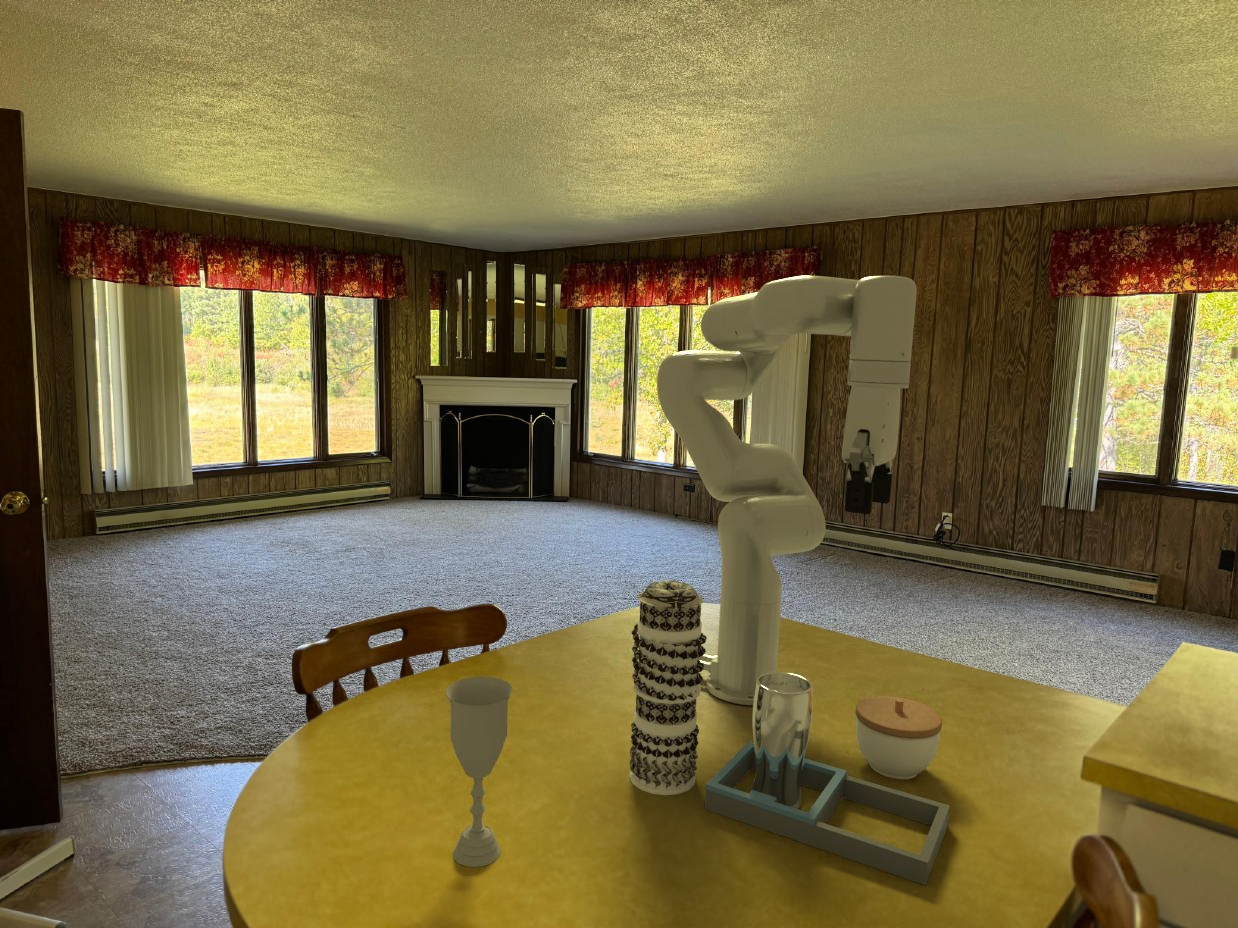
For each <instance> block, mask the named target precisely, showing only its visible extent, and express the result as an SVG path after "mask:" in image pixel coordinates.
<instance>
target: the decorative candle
mask: <svg viewBox="0 0 1238 928" xmlns="http://www.w3.org/2000/svg"><path fill="white" fill-rule="evenodd" d="M636 598H637V599H638V600H639V601H640V604H639V605H640V606H639V618H638V620H637V624H635V625H634V627H633V629H632V631H631V635H632V640H633V641H634V642H633V646H632V647H631V651H632V652H633V657H632V658H631V662H632V668H633V669H634V670H633V673H632V679H633V685H632V690H633V691H634V693H635V695H636V696H635V699H636V700H635V709H634V714H633V722H631V724H630V726H631V732H632V734H631V735H630V739H631V744H632V745H631V747H629V754H630V755H629V756H630V759H629V768H630V772H629V779H630V781H631V784H632V785H633V786H635V787H636V788H637V789H639V790H640V791H643V792H646V793H649V794H651V795H660V796H673V795H675V796H676V795H681V794H684V793H686V792H689V791H691V789H692V788H693V787H694V786H696V779H697V774H696V771H698V767H697V760H698V758H699V755H698V751H697V748H698V747H697V746H698V745H699V741H698V734H699V733H700V730H699V725H698V724H697V719H698V712H697V698H698V697H700V696H701V695H700V694H701V686H700V685H701V683H702V682H703V681H704V676H702V674H701V673H700V672H702V671H704V670H703V668H704V664H703V663H701V661H699V660H698V659H697V658H699V657H701V656H703V655H704V654H706V653H707V652H706V648H704V646H703V645H704V644H705V643H706V642H707V639H708V637H707V635H705V634H704V633H703V632H702V627H703V626H702V623H703V622H702V621H701V616H702V604H703V603H704V598H703V596H701V595H699V594H698V593H697V590H696V589H695V588H694V586H692V585H691V584H688V583H686V582H682V581H676V580H658V581H654V582H652V583H649V585H647V587H646V588H645V590H644V591H643V592H640V593H639V594H638V596H637V597H636Z"/></svg>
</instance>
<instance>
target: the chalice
mask: <svg viewBox="0 0 1238 928" xmlns="http://www.w3.org/2000/svg"><path fill="white" fill-rule="evenodd" d="M513 689H514V688H513V687H512V685H511V683H509V681H506V680H504V679H502V678H498V677H492V676H472V677H467V678H462V679H460V680H456V681H455V682H453V683H451V684H450V685H449V686H448V687H447V689H446V696H447V697H446V698H447V699H448V700H449V703H450V741H451V744H452V746H453V747H452V748H453V750H454V753H455V755H456V758H457V759H458V762H459V764H460V766H461V768H462V769H463V771H464V773H465V775H466V776H467V777H469V778H471V779H473V786H472V790H471V791H470V793H469V794H470V795H471V797H472V802H473V803H472V806H471V807H469V813H470V814H472V817H473V818H472V819H473V820H472V824H471V825H469V826H466V827H465V829H464V830H463V831H462V832H461V833H460V835H459V838H458V840H457V842H456V845H455V847H454V849H453V851H452V858H453V859H454V861H455V862H457V863H458V864H460V865H462V866H464V867H469V868H470V867H471V868H479V867H484V866H488V865H490V864H492V863H494V862H495V861H497V859H498V858H500V856H501V852H502V849H501V848H502V847H501V846H500V845H499V843H498V839H497V837H496V836H495V835H496V834H495V832H494V831H493V830H492V828H491V827H489V826H488V825H486V824H484V823H483V820H482V819H483V815H484V813H485V812H486V811H487V808H486V806H485V805H484V804H483V798H484V796H485V795H486V790H485V789H484V784H483V780H484V778H486V777H488V776H489V775H490V774H491V773H492V771H493V769H494V768H495V765H496V763H497V761H498V759H499V757H500V755H501V753H502V751H503V747H504V745H505V742H506V739H507V736H508V715H509V714H508V712H509V711H508V709H509V706H508V705H509V699H510V697H511V695H512V693H513V691H514V690H513Z"/></svg>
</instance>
